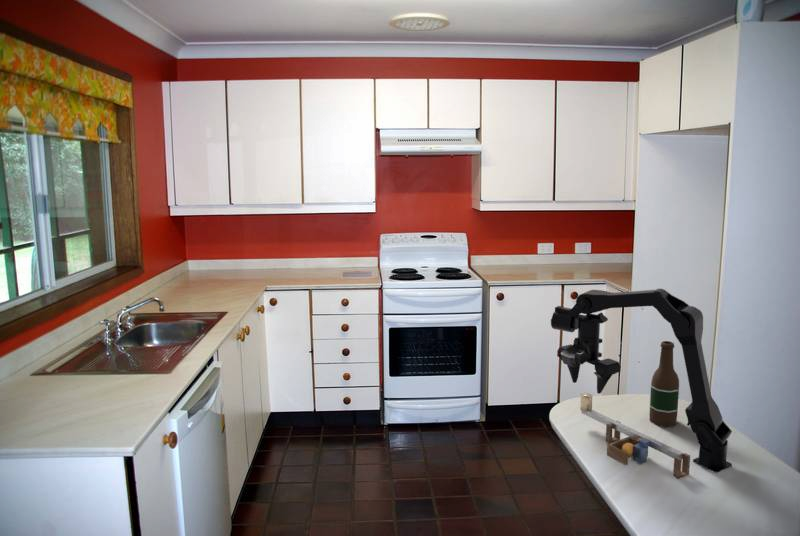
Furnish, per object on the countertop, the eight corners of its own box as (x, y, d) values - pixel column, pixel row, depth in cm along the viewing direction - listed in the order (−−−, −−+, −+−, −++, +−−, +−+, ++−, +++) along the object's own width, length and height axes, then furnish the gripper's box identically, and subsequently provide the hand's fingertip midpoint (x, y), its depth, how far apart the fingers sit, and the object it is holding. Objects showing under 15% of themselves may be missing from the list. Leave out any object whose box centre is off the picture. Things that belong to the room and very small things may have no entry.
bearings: (616, 437, 163) (616, 420, 162) (689, 474, 144) (690, 455, 143) (605, 441, 161) (606, 424, 160) (678, 479, 142) (679, 459, 141)
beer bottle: (672, 415, 175) (676, 338, 170) (681, 427, 167) (687, 346, 163) (645, 415, 176) (648, 338, 171) (653, 427, 168) (657, 346, 163)
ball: (641, 448, 151) (636, 458, 153) (631, 438, 153) (626, 447, 155) (631, 452, 149) (626, 462, 151) (621, 442, 152) (616, 451, 154)
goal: (628, 446, 157) (629, 436, 157) (647, 456, 152) (648, 445, 152) (606, 455, 154) (607, 444, 153) (625, 465, 148) (626, 454, 148)
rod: (585, 421, 172) (586, 392, 170) (684, 471, 144) (686, 436, 142) (569, 426, 169) (570, 397, 167) (667, 478, 141) (669, 443, 140)
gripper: (543, 331, 169) (542, 383, 172) (593, 349, 153) (591, 406, 156) (572, 325, 174) (570, 375, 177) (623, 342, 158) (620, 396, 161)
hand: (586, 387), depth 168 cm, fingers open, 9 cm apart
